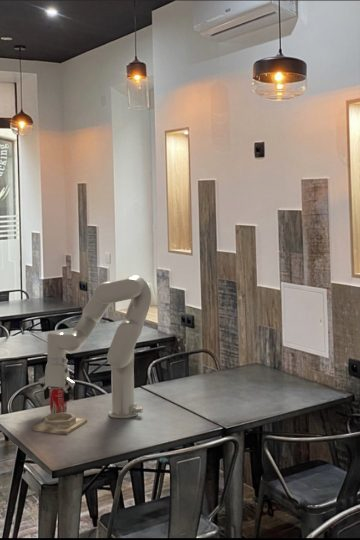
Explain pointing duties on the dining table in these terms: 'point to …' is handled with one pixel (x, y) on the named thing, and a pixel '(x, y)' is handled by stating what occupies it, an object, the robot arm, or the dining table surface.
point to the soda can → (57, 400)
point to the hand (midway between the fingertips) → (56, 399)
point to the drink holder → (59, 423)
